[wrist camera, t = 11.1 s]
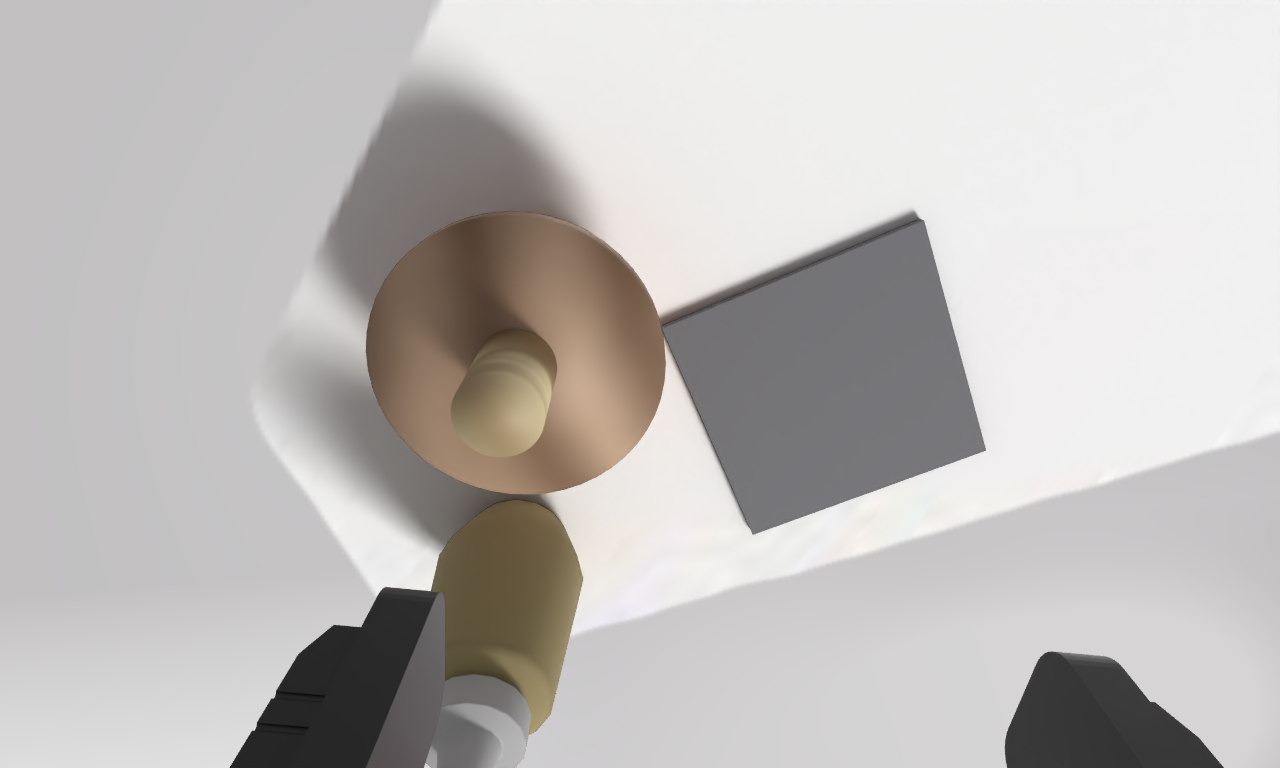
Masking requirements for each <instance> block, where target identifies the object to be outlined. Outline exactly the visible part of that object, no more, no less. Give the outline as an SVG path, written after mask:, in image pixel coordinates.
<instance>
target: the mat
mask: <svg viewBox="0 0 1280 768" xmlns="http://www.w3.org/2000/svg"><path fill="white" fill-rule="evenodd" d="M662 330H663V332H664V334H665V337H666V339H667V341H668V343H669V346H670V348H671V350H672V353H673V355H674V357H675V359H676V362H677V364H678V366H679V368H680V371H681V373H682V375H683V378H684V380H685V382H686V384H687V387H688V389H689V391H690V393H691V396H692V398H693V400H694V402H695V405H696V407H697V409H698V412H699V414H700V416H701V418H702V421H703V423H704V425H705V427H706V430H707V432H708V434H709V436H710V439H711V441H712V443H713V446H714V448H715V450H716V452H717V455H718V457H719V459H720V461H721V464H722V466H723V468H724V470H725V473H726V475H727V477H728V480H729V482H730V484H731V486H732V489H733V491H734V493H735V495H736V498H737V500H738V502H739V505H740V507H741V509H742V511H743V514H744V516H745V518H746V520H747V523H748V525H749V527H750V529H751V532H752V534H753V535H754V534H756V533H759V532H762V531H765V530H768V529H770V528H773V527H776V526H779V525H781V524H784V523H787V522H790V521H792V520H795V519H798V518H801V517H803V516H806V515H809V514H812V513H815V512H817V511H820V510H823V509H826V508H828V507H831V506H834V505H837V504H839V503H842V502H845V501H848V500H850V499H853V498H856V497H859V496H862V495H864V494H867V493H870V492H873V491H875V490H878V489H881V488H884V487H886V486H889V485H892V484H895V483H897V482H900V481H903V480H906V479H909V478H911V477H914V476H917V475H920V474H922V473H925V472H928V471H931V470H933V469H936V468H939V467H942V466H945V465H947V464H950V463H953V462H956V461H958V460H961V459H964V458H967V457H969V456H972V455H975V454H978V453H980V452H983V451H986V448H985V445H984V441H983V437H982V433H981V430H980V426H979V422H978V419H977V415H976V411H975V408H974V404H973V400H972V396H971V393H970V389H969V385H968V382H967V378H966V374H965V371H964V367H963V363H962V359H961V356H960V352H959V348H958V345H957V341H956V337H955V334H954V330H953V326H952V322H951V319H950V315H949V311H948V308H947V304H946V300H945V297H944V293H943V289H942V285H941V282H940V278H939V274H938V271H937V267H936V263H935V260H934V256H933V252H932V248H931V245H930V241H929V237H928V234H927V230H926V226H925V223H924V220H921V219H919V220H916V221H914V222H911V223H909V224H907V225H904V226H902V227H899V228H897V229H894V230H892V231H890V232H887V233H885V234H882V235H880V236H878V237H875V238H873V239H870V240H868V241H865V242H863V243H861V244H858V245H856V246H853V247H851V248H849V249H846V250H844V251H841V252H839V253H836V254H834V255H832V256H829V257H827V258H824V259H822V260H819V261H817V262H815V263H812V264H810V265H807V266H805V267H803V268H800V269H798V270H795V271H793V272H790V273H788V274H786V275H783V276H781V277H778V278H776V279H774V280H771V281H769V282H766V283H764V284H761V285H759V286H757V287H754V288H752V289H749V290H747V291H745V292H742V293H740V294H737V295H735V296H732V297H730V298H728V299H725V300H723V301H720V302H718V303H715V304H713V305H711V306H708V307H706V308H703V309H701V310H699V311H696V312H694V313H691V314H689V315H686V316H684V317H682V318H679V319H677V320H674V321H672V322H670V323H667V324H665V325H662Z"/></svg>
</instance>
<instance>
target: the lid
mask: <svg viewBox="0 0 1280 768" xmlns="http://www.w3.org/2000/svg"><path fill="white" fill-rule="evenodd" d="M366 356H367V365H368V372H369V376H370V380H371V384H372V388H373V390H374V393H375V395H376V398H377V400H378V403H379V405H380V407H381V409H382V411H383V413H384V414H385V416H386V418H387V420H388V421H389V423H390V424H391V425H392V427H393V428H394V430H395V431H396V432H397V434H398V435H399V436H400V437H401V438H402V440H403V441H404V442H405V443H406V444H407V445H408V446H409V447H410V448H411V449H412V450H413V451H414V452H415V453H417V454H418V455H419V456H420V457H421V458H422V459H424V460H425V461H426V462H428V463H429V464H431V465H432V466H434V467H435V468H437V469H438V470H439V471H441V472H443V473H445V474H447V475H449V476H451V477H453V478H454V479H456V480H459V481H461V482H464V483H466V484H469V485H472V486H474V487H478V488H482V489H486V490H489V491H494V492H501V493H508V494H528V495H529V494H542V493H550V492H555V491H560V490H564V489H568V488H571V487H574V486H577V485H580V484H582V483H585V482H587V481H589V480H591V479H593V478H595V477H597V476H599V475H601V474H602V473H604V472H605V471H607V470H609V469H610V468H612V467H613V466H614V465H615V464H617V463H618V462H619V461H620V460H622V459H623V458H624V457H625V456H626V455H627V454H628V453H629V452H630V451H631V450H632V449H633V448H634V447H635V446H636V445H637V443H638V442H639V440H640V439H641V438H642V436H643V435H644V433H645V432H646V431H647V429H648V427H649V425H650V423H651V421H652V419H653V418H654V416H655V413H656V410H657V408H658V405H659V402H660V399H661V395H662V391H663V386H664V380H665V366H666V362H665V348H664V339H663V334H662V329H661V324H660V320H659V317H658V314H657V311H656V308H655V305H654V303H653V300H652V298H651V297H650V295H649V293H648V291H647V289H646V287H645V285H644V284H643V282H642V281H641V279H640V278H639V276H638V275H637V274H636V272H635V271H634V269H633V268H632V267H631V266H630V265H629V264H628V263H627V262H626V261H625V260H624V258H623V257H622V256H621V255H620V254H619V253H617V252H616V251H615V250H614V249H613V248H611V247H610V246H609V245H608V244H607V243H605V242H604V241H603V240H601V239H599V238H598V237H596V236H595V235H593V234H592V233H590V232H588V231H587V230H585V229H582V228H580V227H578V226H576V225H574V224H572V223H570V222H567V221H564V220H561V219H557V218H554V217H551V216H547V215H542V214H536V213H531V212H515V211H504V212H493V213H485V214H481V215H476V216H472V217H468V218H465V219H463V220H460V221H457V222H455V223H452V224H449V225H448V226H446V227H444V228H442V229H440V230H438V231H437V232H435V233H433V234H432V235H430V236H429V237H428V238H426V239H425V240H424V241H422V242H421V243H420V244H418V245H417V246H416V247H414V248H413V249H412V250H411V251H409V252H408V253H407V254H406V255H405V256H404V257H403V258H402V259H401V260H400V261H399V262H398V263H397V265H396V266H395V267H394V268H393V270H392V271H391V273H390V274H389V275H388V277H387V278H386V279H385V281H384V283H383V285H382V287H381V289H380V291H379V292H378V294H377V296H376V299H375V302H374V305H373V308H372V310H371V313H370V318H369V323H368V328H367V338H366Z"/></svg>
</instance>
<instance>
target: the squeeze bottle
mask: <svg viewBox="0 0 1280 768" xmlns="http://www.w3.org/2000/svg"><path fill="white" fill-rule="evenodd" d="M582 582H583V576H582V572H581V569H580V565H579V561H578V557H577V554H576V552H575V550H574V548H573V545H572V543H571V541H570V539H569V537H568V534H567V532H566V530H565V528H564V526H563V524H562V523H561V522H560V521H559V520H558V518H557V517H556V516H555V515H554V514H553V512H551V511H549V510H548V509H546V508H544V507H542V506H540V505H539V504H537V503H533V502H528V501H522V500H510V501H504V502H498V503H495V504H494V505H492V506H490V507H489V508H487V509H485V510H484V511H482V512H480V513H479V514H478V515H477V516H476V517H474V518H473V519H472V520H471V521H470V522H468V523H467V524H466V525H465V526H464V527H462V528H461V529H460V530H459V531H458V532H456V533H455V534H454V535H453V536H452V538H451V539H450V541H449V542H448V543H447V545H446V546H445V548H444V549H443V551H442V552H441V554H440V555H439V558H438V563H437V567H436V571H435V576H434V580H433V584H432V589H431V591H433V592H441V593H443V595H444V601H445V684H444V694H443V701H442V707H441V712H440V716H439V721H438V725H437V728H436V731H435V735H434V738H433V741H432V744H431V747H430V750H429V753H428V756H427V759H426V762H425V763H426V764H428V765H429V766H430V767H431V768H516V767H517V765H518V764H519V763H520V762H521V761H522V760H523V758H524V755H525V751H526V746H527V740H528V735H529V734H532V733H534V732H536V731H537V730H538V728H539V727H540V726H541V725H542V724H543V723H544V721H545V720H546V719H547V718H548V717H549V716H550V714H551V710H552V706H553V702H554V698H555V694H556V690H557V686H558V682H559V678H560V673H561V669H562V665H563V661H564V657H565V653H566V649H567V645H568V641H569V637H570V633H571V629H572V625H573V620H574V616H575V612H576V608H577V604H578V600H579V595H580V591H581V586H582Z"/></svg>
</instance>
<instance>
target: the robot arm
mask: <svg viewBox="0 0 1280 768" xmlns="http://www.w3.org/2000/svg"><path fill="white" fill-rule="evenodd" d="M444 684H445V601H444V595H443V593H441V592H433V591H422V590H411V589H401V588H390V587H385V588H383V589H382V590H381V592H380V593H379V594H378V596H377V598H376V600H375V602H374V604H373V606H372V608H371V610H370V611H369V613H368V615H367V617H366V619H365V621H364V623H363V625H362V627H351V626H340V625H333V626H332V627H331V628H330V629H328V630H327V631H326V632H325V633H324V634H322V635H321V636H320V637H319V638H318V639H316V640H315V641H314V642H313V643H311V644H310V645H309V646H308V647H307V648H305V649H304V650H303V651H302V652H301V653H299V654H298V656H297V657H296V659H295V661H294V663H293V664H292V666H291V668H290V669H289V671H288V672H287V674H286V676H285V677H284V679H283V681H282V682H281V684H280V686H279V687H278V689H277V690H276V696H275V698H274V699H271V700H270V702H269V704H268V705H267V707H266V709H265V710H264V712H263V714H262V716H261V717H260V718H259V720H258V722H257V727H256V729H255V731H252V732H251V733H250V735H249V737H248V739H247V740H246V742H245V743H244V745H243V747H242V748H241V750H240V752H239V753H238V755H237V756H236V758H235V760H234V761H233V763H232V765H231V766H230V768H424V765H425V762H426V759H427V756H428V753H429V750H430V747H431V744H432V741H433V738H434V735H435V731H436V728H437V725H438V721H439V716H440V712H441V707H442V701H443V694H444ZM1005 756H1006V763H1007V768H1224V767H1223V766H1222V765H1221V764H1220V763H1219V761H1218V760H1217V759H1216V758H1215V757H1214V756H1213V754H1212V753H1211V752H1210V751H1209V750H1208V748H1207V747H1206V746H1205V745H1204V743H1203V742H1202V741H1201V740H1200V739H1199V738H1198V737H1197V736H1196V735H1195V734H1193V733H1192V732H1191V731H1190V730H1188V729H1187V728H1186V727H1185V726H1183V725H1182V724H1181V723H1180V722H1179V721H1177V720H1176V719H1175V718H1174V717H1172V716H1171V715H1170V714H1169V713H1167V712H1166V711H1165V710H1164V709H1163V708H1161V707H1160V706H1159V705H1158V704H1156V703H1155V702H1150V701H1149V700H1148V699H1147V697H1146V696H1145V695H1144V694H1143V692H1142V691H1141V690H1140V689H1139V687H1138V686H1137V685H1136V684H1135V682H1134V681H1133V680H1132V679H1131V678H1130V676H1129V675H1128V674H1127V672H1126V671H1125V670H1124V669H1123V668H1122V667H1121V665H1120V664H1119V663H1117V662H1116V661H1115V660H1113V659H1111V658H1108V657H1105V656H1093V655H1084V654H1073V653H1062V652H1047V653H1045V654H1044V655H1043V656H1041V657H1040V659H1039V660H1038V662H1037V664H1036V666H1035V669H1034V671H1033V673H1032V675H1031V678H1030V680H1029V683H1028V685H1027V687H1026V689H1025V692H1024V694H1023V696H1022V699H1021V701H1020V703H1019V705H1018V708H1017V710H1016V712H1015V715H1014V717H1013V719H1012V722H1011V724H1010V726H1009V728H1008V731H1007V735H1006V740H1005Z"/></svg>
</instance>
